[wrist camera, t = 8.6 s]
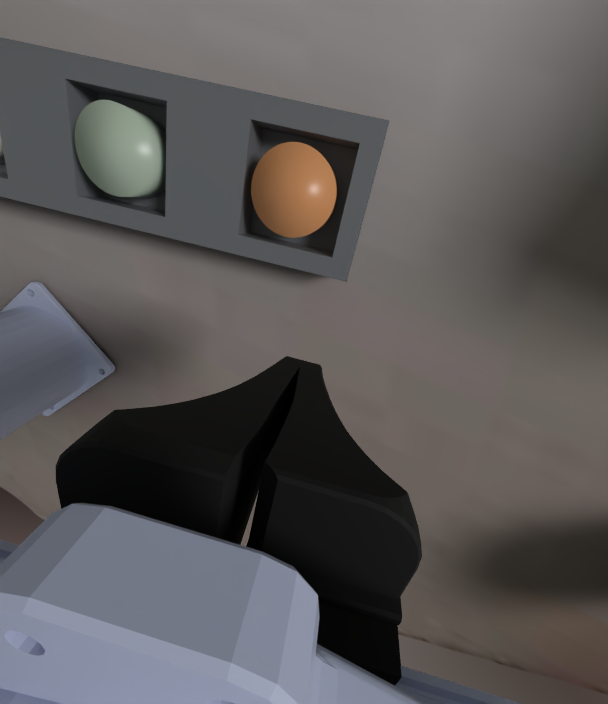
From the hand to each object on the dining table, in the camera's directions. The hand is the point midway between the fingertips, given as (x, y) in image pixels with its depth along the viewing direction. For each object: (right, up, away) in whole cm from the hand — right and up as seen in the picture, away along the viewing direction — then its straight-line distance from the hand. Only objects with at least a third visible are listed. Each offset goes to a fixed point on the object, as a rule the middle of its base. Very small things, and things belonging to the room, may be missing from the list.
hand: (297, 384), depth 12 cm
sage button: (-9, +12, +6) cm, 16 cm away
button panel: (-9, +12, +6) cm, 16 cm away
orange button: (0, +9, +5) cm, 11 cm away
